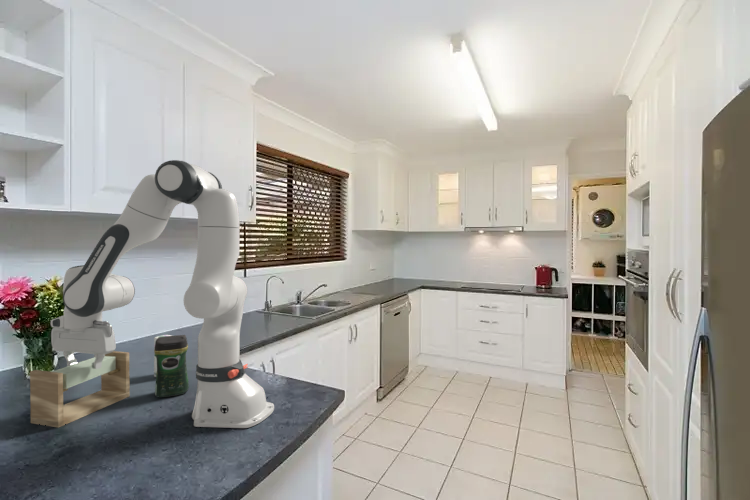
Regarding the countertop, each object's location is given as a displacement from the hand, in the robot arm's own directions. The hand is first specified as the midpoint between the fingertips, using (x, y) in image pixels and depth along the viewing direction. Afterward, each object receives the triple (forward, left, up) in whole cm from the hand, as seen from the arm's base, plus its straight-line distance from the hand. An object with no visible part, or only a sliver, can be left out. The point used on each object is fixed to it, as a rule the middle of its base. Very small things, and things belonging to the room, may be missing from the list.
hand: (84, 367), depth 108 cm
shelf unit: (0, 0, -12) cm, 12 cm away
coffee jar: (-16, -16, -13) cm, 26 cm away
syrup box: (-1, -29, -13) cm, 32 cm away
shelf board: (0, 0, -3) cm, 3 cm away
